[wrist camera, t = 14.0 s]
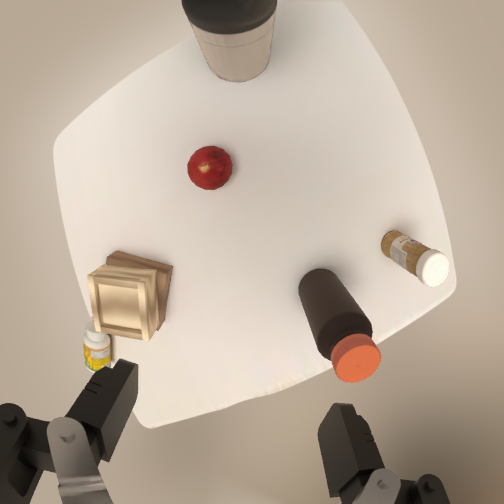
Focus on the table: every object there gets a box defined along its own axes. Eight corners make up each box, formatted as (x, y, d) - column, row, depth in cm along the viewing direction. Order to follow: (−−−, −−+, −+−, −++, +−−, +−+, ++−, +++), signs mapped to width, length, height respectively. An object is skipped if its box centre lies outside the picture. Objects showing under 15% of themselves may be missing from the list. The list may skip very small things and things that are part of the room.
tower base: (117, 250, 43) (106, 257, 39) (173, 265, 44) (166, 274, 40) (113, 302, 46) (103, 312, 42) (165, 319, 46) (158, 330, 43)
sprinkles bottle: (403, 228, 42) (451, 250, 29) (403, 255, 43) (448, 284, 30) (379, 232, 42) (424, 256, 29) (380, 259, 43) (421, 291, 30)
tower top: (103, 264, 40) (87, 275, 35) (156, 269, 40) (144, 282, 35) (109, 315, 42) (95, 331, 37) (159, 323, 42) (149, 341, 37)
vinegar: (310, 261, 43) (351, 327, 24) (346, 278, 44) (401, 346, 25) (290, 298, 45) (313, 381, 25) (326, 313, 45) (364, 394, 26)
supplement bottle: (111, 375, 45) (110, 337, 43) (85, 373, 43) (81, 334, 40) (110, 357, 50) (110, 319, 47) (85, 355, 47) (83, 317, 45)
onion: (214, 140, 38) (205, 132, 31) (242, 168, 39) (239, 166, 32) (186, 169, 39) (170, 168, 32) (213, 196, 41) (204, 201, 33)
